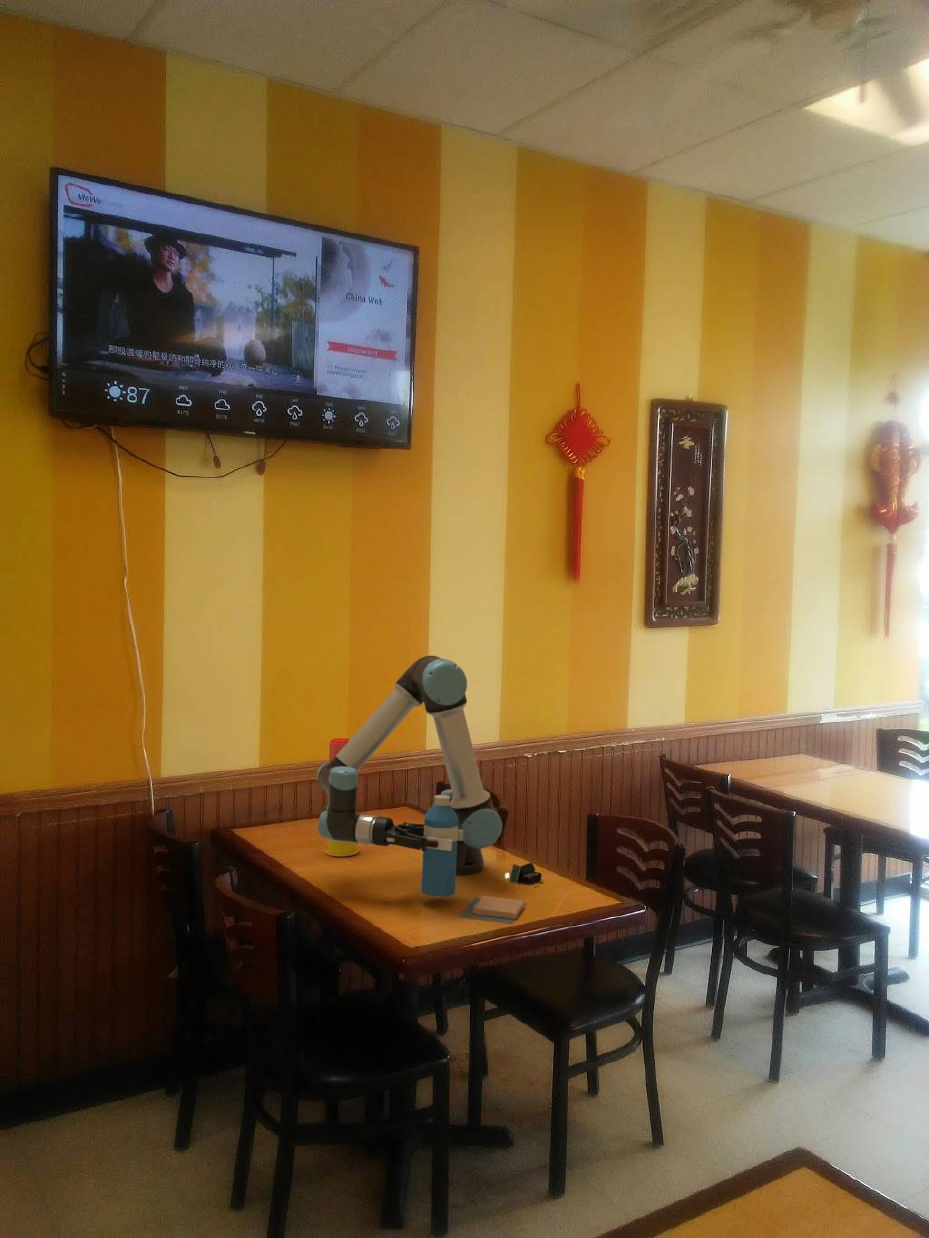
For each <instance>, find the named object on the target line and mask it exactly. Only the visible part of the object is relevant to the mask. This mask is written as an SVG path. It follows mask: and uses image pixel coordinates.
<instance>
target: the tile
mask: <svg viewBox="0 0 929 1238" xmlns="http://www.w3.org/2000/svg"><path fill="white" fill-rule="evenodd" d="M480 898H481V899H480V900H479V901H478V903H477V904H476V905H475V906H474V908H473V913H475V914H478V915H485V916H493V917H501V918H508V919H515V918H516V917H517V915H518V914H519V912H520V911H521V910H523V909H524V908H525V906H524V903H525V900H522V899H514V898H513V899H512V898H505V897H499V896H498V897H497V896H490V895H483V896H481V897H480ZM523 907H524V908H523ZM522 908H523V909H522ZM521 912H522V911H521ZM521 912H520V913H521ZM519 915H520V914H519ZM519 915H518V916H519ZM517 918H518V917H517ZM517 918H516V919H517Z"/></svg>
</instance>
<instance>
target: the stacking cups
mask: <svg viewBox="0 0 929 1238" xmlns="http://www.w3.org/2000/svg"><path fill="white" fill-rule="evenodd" d="M350 739H351V738H345V737H344V738H343V737H342V738H333V739H330V741H329V748H328V749H329V751H328V752H329V753H328V758H329V759H328V761H327V763H330V762H331V761H332V759H333V758H334V757H335V756H336V755H337V754H338V753H339V752H340V751H341V750H342V748H343V747H344V746H345V745H346V744H347V743H348V742H349V741H350ZM327 803H328V804H327V805H326V806H325V807H326V809H327V810H328V806H329V795H328V794H327ZM356 808H358V805H356ZM359 852H360V848H359V847H358V843H356V842H347V841H335V840H332V839H327V848H326V849H325V853H326V855H328V856H331V857H349V856H353V855H354V856H355V855H357V854H359Z"/></svg>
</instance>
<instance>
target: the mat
mask: <svg viewBox="0 0 929 1238" xmlns="http://www.w3.org/2000/svg"><path fill="white" fill-rule="evenodd" d="M481 898H482V897H478V896H474V898H473V899H472V900H471V901H470V902H469V904H468V905H467V906H466V907H465V908H464V909H463V911H462V912H461V913H460V914H459V915H458V918H463V919H469V920H470V919H471V920H477V921H486V922H492V923H499V924H500V923H501V924H509V925H513V924H514V922H516V919H517V918H518V917H519V915H520V914H521V913H522V910H524V908H525V906H526V905H527V903H526V902H524V907H523V908H522V910H521V911H520V912H519V914H518V915H517V917H516V918H515V919H508V918H501V917H493V916H485V915H478V914H475V913H473V908H474V906H475V905H476V904H477V903H478V901H479V900H480V899H481Z"/></svg>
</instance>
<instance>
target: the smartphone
mask: <svg viewBox="0 0 929 1238" xmlns="http://www.w3.org/2000/svg"><path fill="white" fill-rule="evenodd" d="M536 870H537V869H536V868H535V866H534V865H533V863H532V862H529V863H528V862H527V863H526V864H523V865H521V866H520V865H518V864H515V863H513V864H512V868H511V872H510V873H509V872H505V873H504V877H505V879H507V878H509V882H510V881H511V882H510V883H513V882H515V883H514V884H516V883H517V884H518V882H521V885H520V887H524V888H525V887H526V886H531V885H533V883H534V884H536V883H538V885H539V884H541V885H544V883H542V882H541V881H542V872H539V871H536ZM518 879H519V880H518ZM540 880H541V881H540ZM538 881H539V882H538ZM535 882H536V883H535ZM523 883H524V885H523ZM526 884H527V885H526ZM530 884H531V885H530ZM525 885H526V886H525ZM536 886H537V885H536ZM536 886H534V887H533V889H534V888H535V889H536ZM538 887H539V886H537V888H538Z"/></svg>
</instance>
